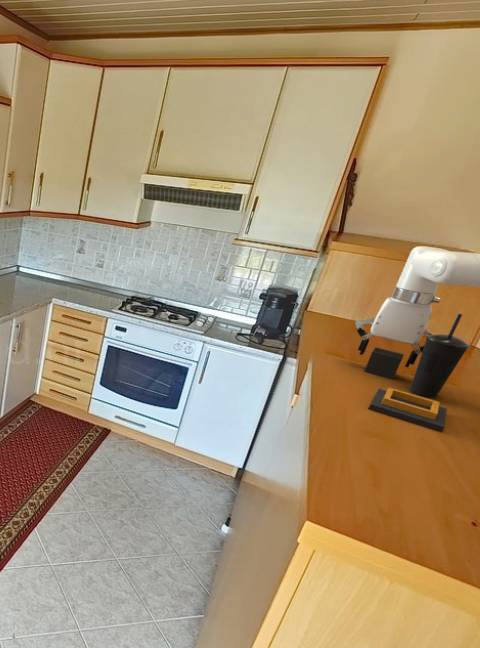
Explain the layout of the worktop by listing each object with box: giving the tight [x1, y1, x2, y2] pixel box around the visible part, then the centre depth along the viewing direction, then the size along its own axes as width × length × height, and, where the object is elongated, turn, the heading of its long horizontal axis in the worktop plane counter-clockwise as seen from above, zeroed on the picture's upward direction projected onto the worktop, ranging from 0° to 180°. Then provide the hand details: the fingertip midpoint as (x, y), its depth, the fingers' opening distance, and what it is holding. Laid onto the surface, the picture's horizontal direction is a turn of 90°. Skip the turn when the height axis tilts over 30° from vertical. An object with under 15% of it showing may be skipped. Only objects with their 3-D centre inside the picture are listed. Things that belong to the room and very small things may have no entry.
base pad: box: [368, 387, 448, 433], centre depth 106 cm, size 14×12×3 cm
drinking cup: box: [409, 313, 471, 399], centre depth 113 cm, size 8×8×20 cm
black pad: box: [364, 347, 404, 380], centre depth 128 cm, size 6×6×6 cm
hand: (383, 359), depth 128 cm, fingers open, 9 cm apart
